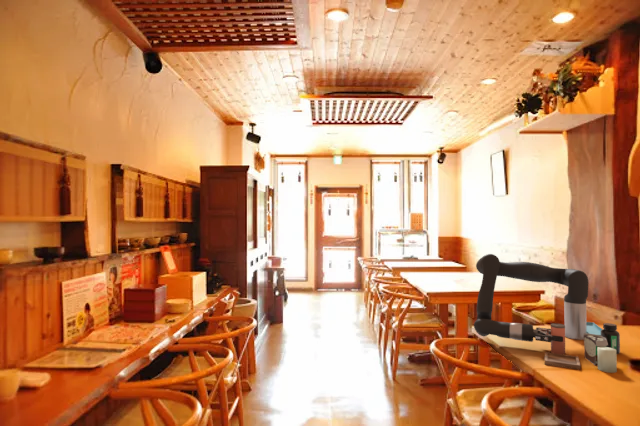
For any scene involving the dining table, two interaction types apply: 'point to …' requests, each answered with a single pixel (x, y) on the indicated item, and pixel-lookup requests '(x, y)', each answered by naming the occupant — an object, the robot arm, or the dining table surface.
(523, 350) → the dining table surface
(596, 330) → the shallow long dish
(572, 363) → the tray
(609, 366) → the sage tin
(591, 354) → the food container
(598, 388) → the dining table surface
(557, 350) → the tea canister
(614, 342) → the supplement bottle
